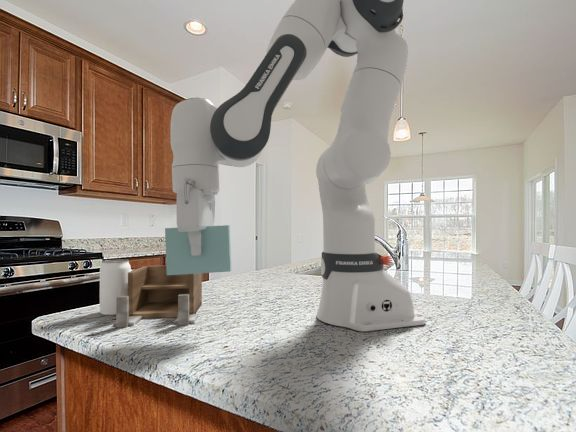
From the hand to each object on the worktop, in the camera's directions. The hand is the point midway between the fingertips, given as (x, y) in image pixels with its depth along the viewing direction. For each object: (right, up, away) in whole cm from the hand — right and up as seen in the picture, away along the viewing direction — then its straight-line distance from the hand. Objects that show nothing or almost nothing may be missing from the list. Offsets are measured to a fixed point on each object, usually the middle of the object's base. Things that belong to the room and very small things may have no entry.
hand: (199, 253), depth 64 cm
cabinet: (-11, -15, +10) cm, 21 cm away
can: (-23, -15, +12) cm, 30 cm away
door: (0, -4, 0) cm, 4 cm away
